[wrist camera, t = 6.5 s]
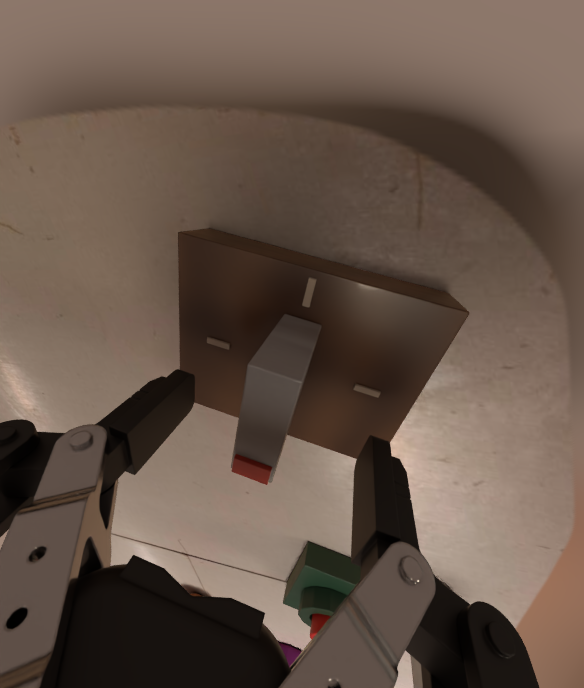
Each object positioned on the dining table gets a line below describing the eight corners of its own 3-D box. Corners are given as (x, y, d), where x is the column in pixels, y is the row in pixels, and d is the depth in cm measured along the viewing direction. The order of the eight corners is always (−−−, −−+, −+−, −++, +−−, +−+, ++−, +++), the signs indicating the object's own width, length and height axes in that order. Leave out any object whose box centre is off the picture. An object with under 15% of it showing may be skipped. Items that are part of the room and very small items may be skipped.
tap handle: (284, 313, 13) (244, 367, 8) (322, 324, 13) (301, 387, 8) (265, 398, 16) (227, 473, 11) (295, 409, 16) (269, 489, 11)
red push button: (317, 606, 27) (314, 630, 26) (350, 620, 27) (349, 645, 25) (309, 617, 29) (306, 639, 27) (339, 630, 28) (338, 653, 27)
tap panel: (449, 293, 14) (472, 313, 11) (373, 431, 19) (376, 468, 16) (208, 227, 15) (175, 231, 12) (202, 374, 20) (178, 399, 18)
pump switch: (308, 541, 28) (301, 587, 25) (388, 572, 27) (392, 624, 24) (286, 581, 34) (278, 623, 31) (351, 608, 33) (351, 654, 30)
